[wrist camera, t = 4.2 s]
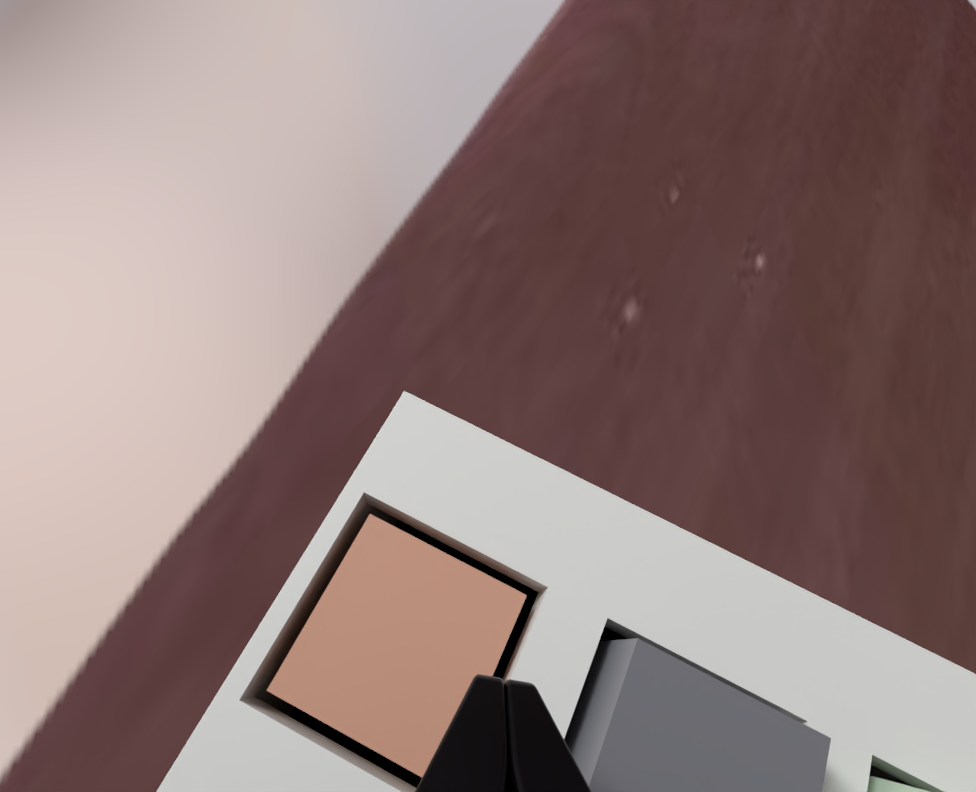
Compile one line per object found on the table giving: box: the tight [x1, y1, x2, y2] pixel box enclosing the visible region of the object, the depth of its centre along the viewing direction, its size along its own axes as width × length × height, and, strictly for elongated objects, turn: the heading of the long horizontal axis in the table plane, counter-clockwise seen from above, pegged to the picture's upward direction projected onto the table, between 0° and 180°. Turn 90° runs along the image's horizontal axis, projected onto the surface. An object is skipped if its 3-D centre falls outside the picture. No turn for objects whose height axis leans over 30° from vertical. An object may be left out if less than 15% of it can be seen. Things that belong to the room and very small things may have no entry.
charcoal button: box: [564, 638, 831, 792], centre depth 10 cm, size 4×4×2 cm
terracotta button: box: [266, 514, 527, 777], centre depth 12 cm, size 4×4×2 cm
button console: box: [156, 391, 976, 792], centre depth 13 cm, size 9×16×7 cm, turn 64°
